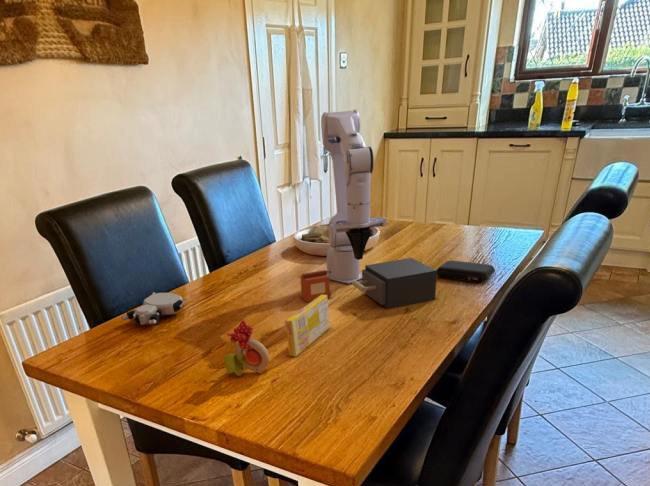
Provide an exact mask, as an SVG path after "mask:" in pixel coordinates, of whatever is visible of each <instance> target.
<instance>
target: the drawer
mask: <svg viewBox="0 0 650 486" xmlns="http://www.w3.org/2000/svg"><path fill="white" fill-rule="evenodd" d="M361 274H362V279H361V280H357V281H353V282H352V283H351V284H352V287H355V288H356V289H357V290H359V291H360V292H361V293H364V294H365V295H366V296H368V297H370V298H371V299H372V300H374V301H375V302H377V304H379V305H381V306H383V305H385V304H386V281H385V280H384V279H382V278H380V277H379V276H377V275H375V274H374V273H371V272H370V271H368V270H366V269H365V268H364V269H362V270H361Z"/></svg>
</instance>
